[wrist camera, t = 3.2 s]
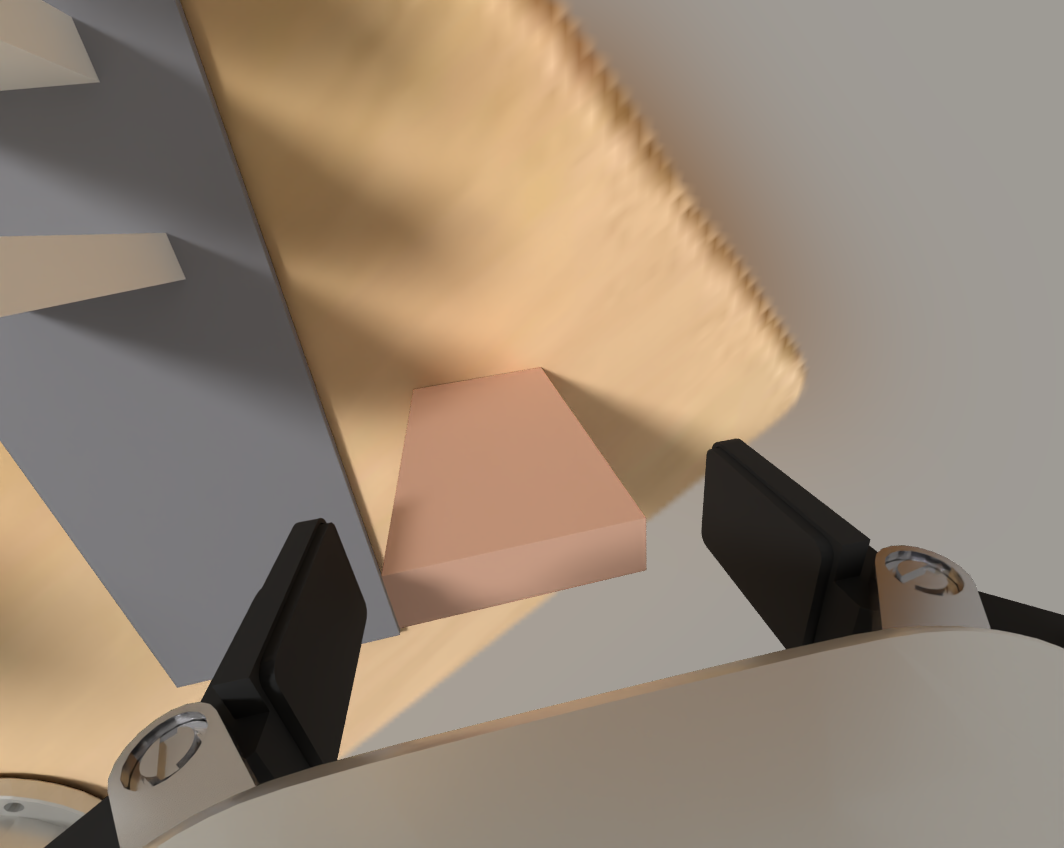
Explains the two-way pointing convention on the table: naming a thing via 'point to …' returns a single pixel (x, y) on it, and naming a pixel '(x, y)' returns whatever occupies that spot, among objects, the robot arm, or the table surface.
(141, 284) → the domino
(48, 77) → the domino
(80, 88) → the rubber mat
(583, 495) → the domino
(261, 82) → the table surface
